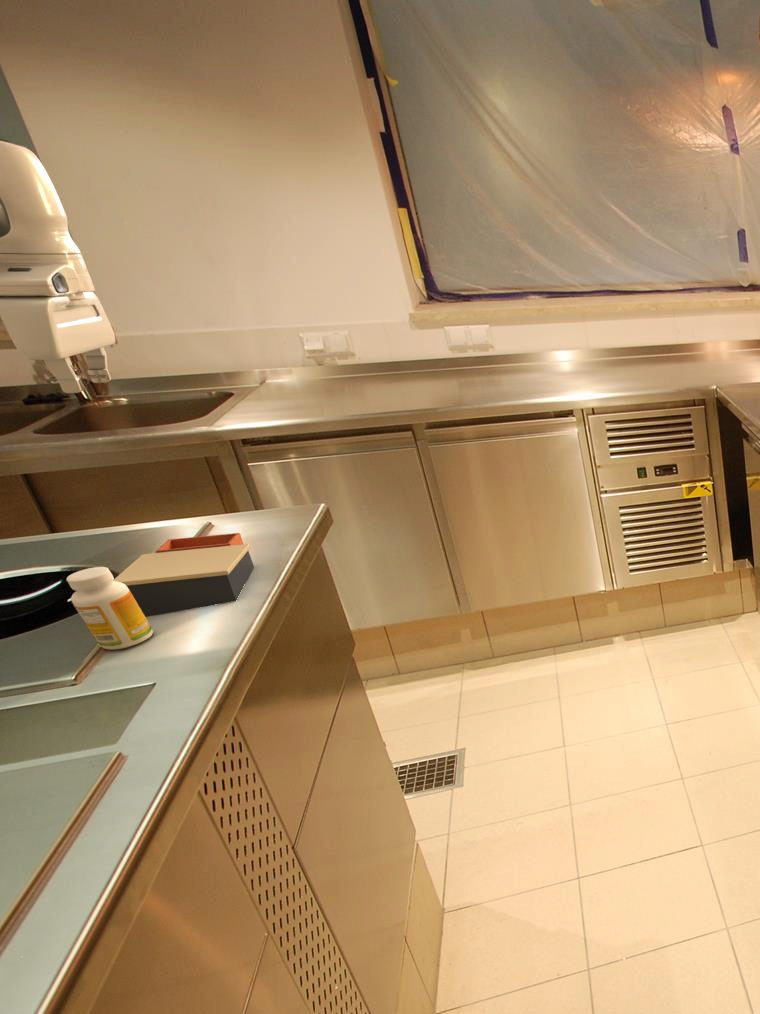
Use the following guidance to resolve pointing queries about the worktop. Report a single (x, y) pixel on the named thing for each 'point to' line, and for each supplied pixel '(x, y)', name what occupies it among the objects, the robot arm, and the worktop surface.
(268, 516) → the worktop surface
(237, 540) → the terracotta tub
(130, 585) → the slate storage box
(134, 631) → the supplement bottle
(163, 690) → the worktop surface
